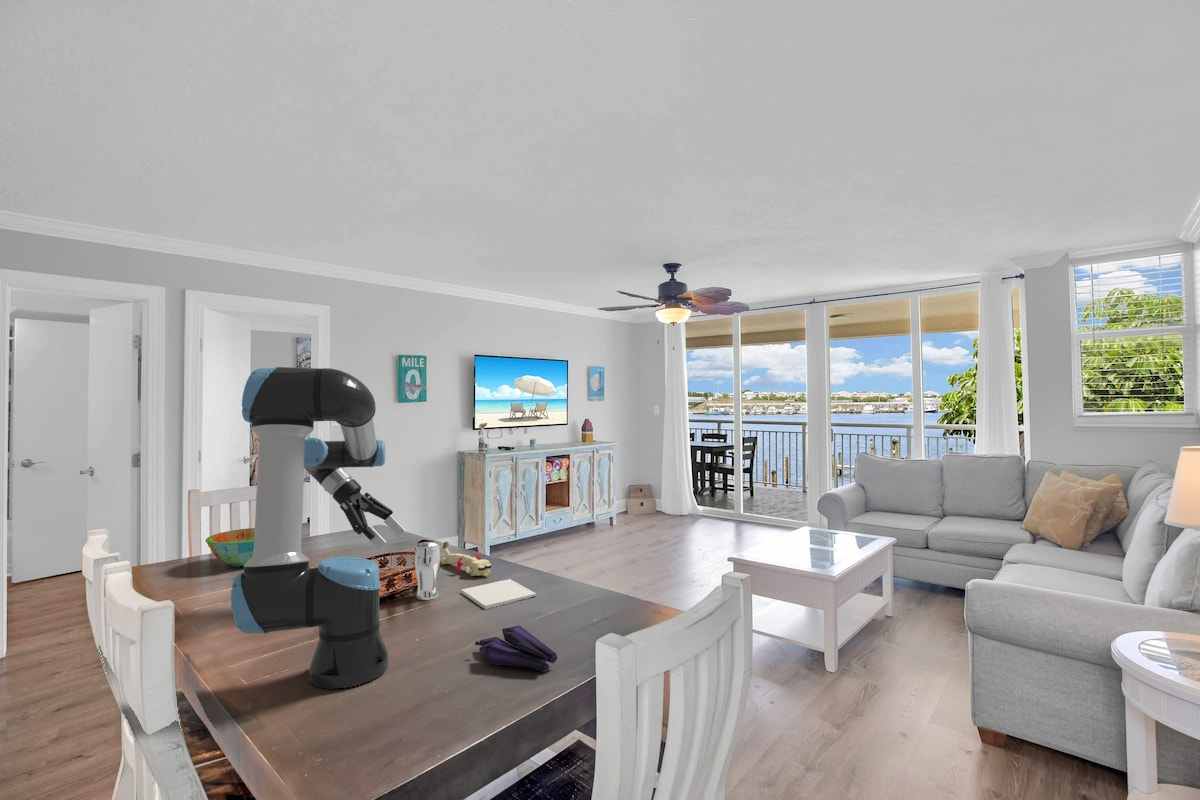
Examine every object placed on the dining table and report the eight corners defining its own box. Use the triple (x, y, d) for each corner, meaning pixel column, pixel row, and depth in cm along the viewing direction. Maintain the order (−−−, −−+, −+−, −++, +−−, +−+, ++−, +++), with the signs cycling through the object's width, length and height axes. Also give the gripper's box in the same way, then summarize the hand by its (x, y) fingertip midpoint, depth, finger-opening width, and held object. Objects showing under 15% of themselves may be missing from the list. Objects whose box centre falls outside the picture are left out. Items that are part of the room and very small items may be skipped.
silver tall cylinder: (444, 596, 164) (444, 544, 164) (422, 602, 159) (422, 549, 159) (432, 590, 169) (432, 540, 168) (410, 596, 163) (410, 544, 163)
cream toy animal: (431, 570, 193) (475, 579, 177) (430, 544, 194) (473, 551, 177) (456, 563, 201) (500, 572, 184) (455, 538, 201) (499, 545, 184)
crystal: (566, 635, 123) (497, 608, 134) (532, 661, 113) (461, 630, 124) (565, 665, 124) (497, 636, 135) (532, 694, 114) (461, 660, 125)
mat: (536, 596, 163) (536, 593, 163) (485, 609, 154) (485, 605, 154) (510, 582, 176) (510, 579, 176) (461, 592, 167) (461, 589, 167)
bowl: (224, 578, 179) (224, 546, 179) (193, 566, 191) (193, 537, 191) (295, 561, 198) (295, 532, 198) (262, 551, 210) (262, 524, 210)
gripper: (354, 489, 178) (401, 537, 177) (309, 504, 153) (363, 561, 152) (370, 472, 177) (417, 521, 177) (328, 484, 152) (383, 541, 152)
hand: (392, 539), depth 164 cm, fingers open, 13 cm apart
